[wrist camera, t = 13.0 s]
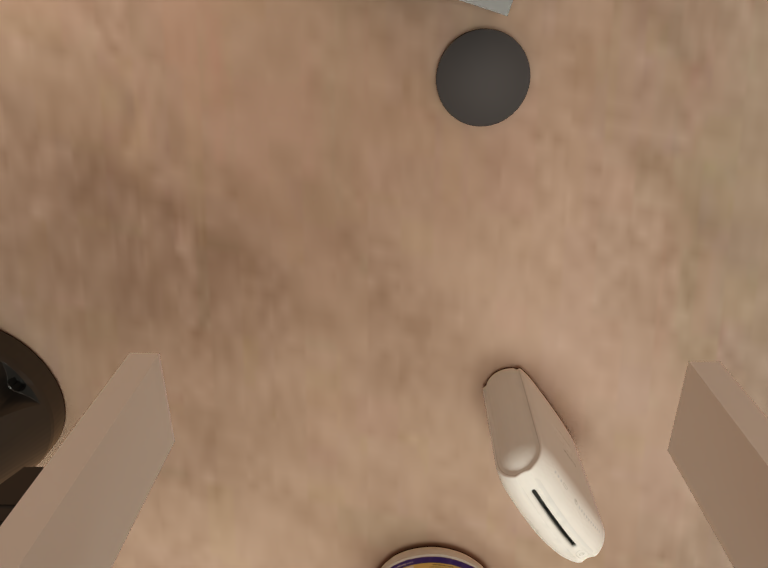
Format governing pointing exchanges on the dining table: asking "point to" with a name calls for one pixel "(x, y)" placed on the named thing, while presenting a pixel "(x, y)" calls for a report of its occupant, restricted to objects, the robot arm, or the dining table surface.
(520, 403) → the photo printer
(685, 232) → the dining table surface
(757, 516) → the robot arm
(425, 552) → the supplement tub
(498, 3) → the camera body
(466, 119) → the lens cap
